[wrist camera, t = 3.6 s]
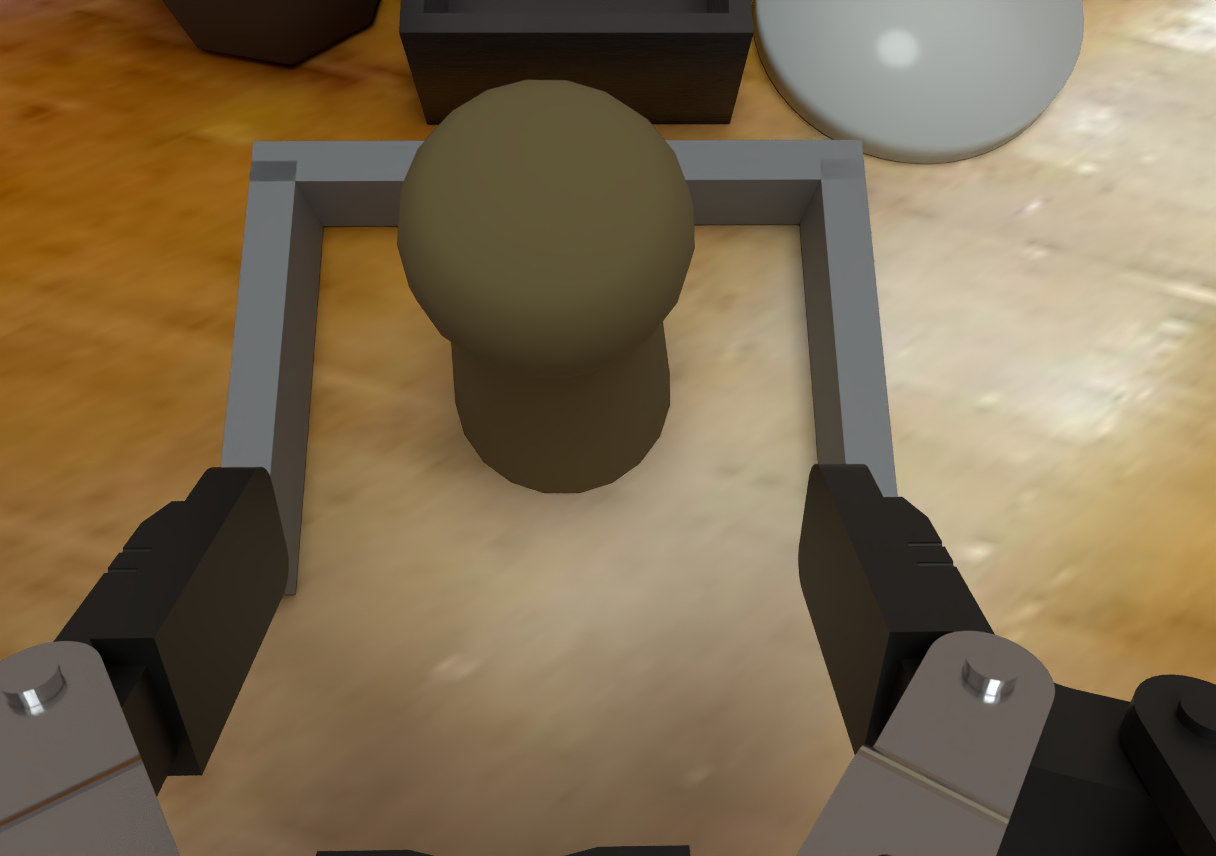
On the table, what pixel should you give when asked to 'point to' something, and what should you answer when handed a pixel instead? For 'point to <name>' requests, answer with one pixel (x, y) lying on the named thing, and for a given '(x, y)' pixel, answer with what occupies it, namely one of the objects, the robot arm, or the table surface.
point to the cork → (550, 276)
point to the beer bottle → (270, 25)
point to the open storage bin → (583, 51)
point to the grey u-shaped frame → (722, 195)
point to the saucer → (919, 69)
